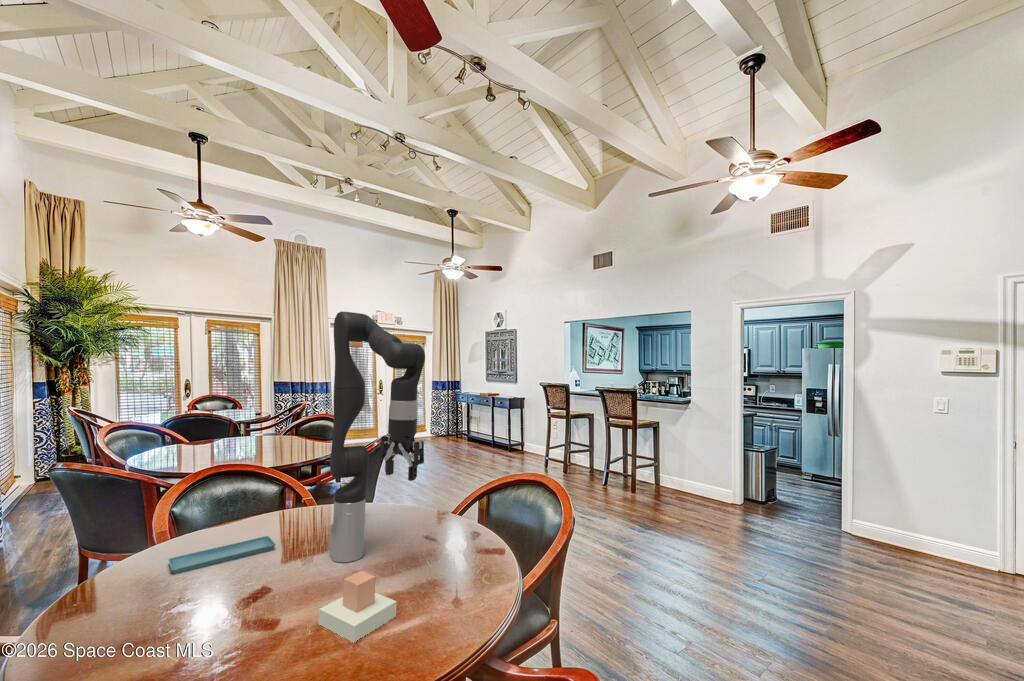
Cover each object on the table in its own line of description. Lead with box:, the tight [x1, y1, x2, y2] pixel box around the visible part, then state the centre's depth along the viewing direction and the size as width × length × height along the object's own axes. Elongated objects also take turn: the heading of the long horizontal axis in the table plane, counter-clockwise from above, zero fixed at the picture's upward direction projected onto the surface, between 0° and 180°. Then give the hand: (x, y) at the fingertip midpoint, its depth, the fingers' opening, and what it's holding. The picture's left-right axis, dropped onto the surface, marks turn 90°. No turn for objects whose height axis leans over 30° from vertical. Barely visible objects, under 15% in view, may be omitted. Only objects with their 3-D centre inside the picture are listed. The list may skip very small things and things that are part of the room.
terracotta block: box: [342, 570, 376, 613], centre depth 103 cm, size 5×5×6 cm
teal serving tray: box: [167, 535, 276, 575], centre depth 133 cm, size 26×9×2 cm, turn 132°
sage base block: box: [317, 592, 397, 644], centre depth 102 cm, size 12×12×4 cm
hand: (400, 477), depth 119 cm, fingers open, 8 cm apart
